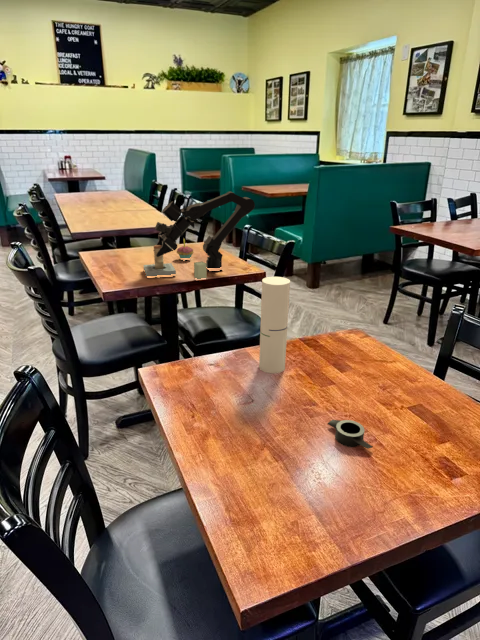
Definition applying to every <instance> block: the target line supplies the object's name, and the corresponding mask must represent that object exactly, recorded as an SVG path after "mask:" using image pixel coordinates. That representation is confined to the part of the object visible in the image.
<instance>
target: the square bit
mask: <svg viewBox="0 0 480 640" xmlns="http://www.w3.org/2000/svg"><path fill="white" fill-rule="evenodd" d="M207 271H208V270H207V269H206V262H204V261H195V262H193V276H194V277H195V278H197V279H201V278H207Z"/></svg>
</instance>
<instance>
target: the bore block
mask: <svg viewBox="0 0 480 640" xmlns="http://www.w3.org/2000/svg"><path fill="white" fill-rule="evenodd" d="M144 270H145V273H146V275H145V277H146V276H157V275H171V274H176V275H177V272H176V269H175V267H174V265H173V263H172V262H171V263H169V262H168V263H164V269H159V270H158V269H155V263H153V264H152V263H151V264H143V271H144ZM145 273H144V274H145Z"/></svg>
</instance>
